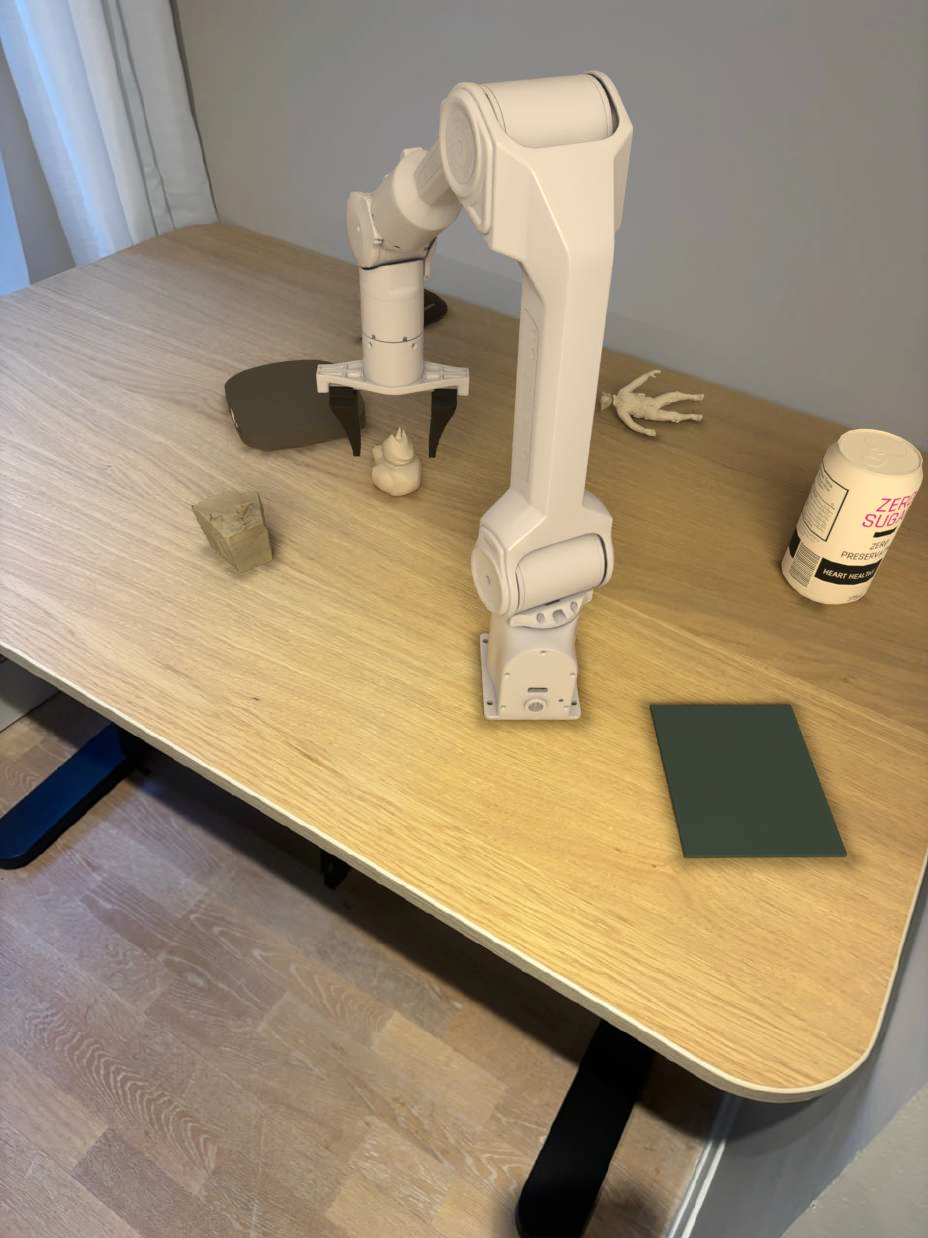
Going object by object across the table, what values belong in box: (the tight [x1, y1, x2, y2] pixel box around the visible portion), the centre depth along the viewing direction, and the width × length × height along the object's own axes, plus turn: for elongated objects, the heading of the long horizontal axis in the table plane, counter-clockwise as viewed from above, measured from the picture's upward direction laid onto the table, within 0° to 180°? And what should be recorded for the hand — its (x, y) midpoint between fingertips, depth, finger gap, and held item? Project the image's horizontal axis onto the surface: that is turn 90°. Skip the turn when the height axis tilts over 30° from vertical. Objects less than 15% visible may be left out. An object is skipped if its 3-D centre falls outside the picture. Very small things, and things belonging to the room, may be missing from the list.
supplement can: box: [780, 428, 924, 605], centre depth 80 cm, size 8×8×15 cm
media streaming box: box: [223, 359, 366, 451], centre depth 101 cm, size 15×15×3 cm
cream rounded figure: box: [371, 426, 423, 497], centre depth 90 cm, size 5×7×8 cm
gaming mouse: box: [360, 288, 448, 341], centre depth 118 cm, size 6×15×4 cm, turn 136°
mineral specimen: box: [190, 489, 273, 574], centre depth 81 cm, size 7×9×8 cm
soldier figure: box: [599, 369, 705, 437], centre depth 103 cm, size 8×5×12 cm
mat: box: [649, 704, 848, 859], centre depth 68 cm, size 14×12×1 cm
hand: (394, 451), depth 90 cm, fingers open, 7 cm apart
